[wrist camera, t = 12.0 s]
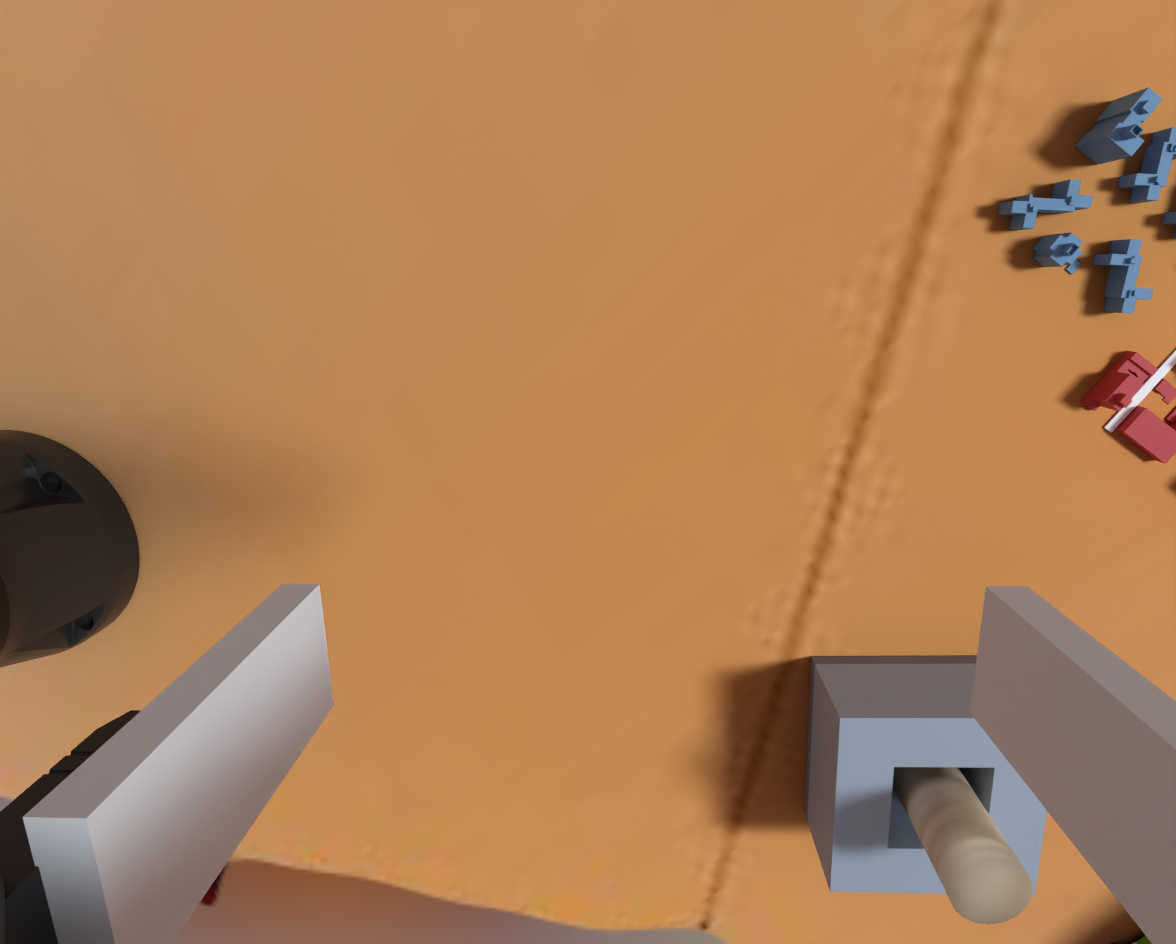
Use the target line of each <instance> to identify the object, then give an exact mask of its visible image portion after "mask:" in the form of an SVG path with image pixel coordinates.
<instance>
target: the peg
mask: <svg viewBox="0 0 1176 944" xmlns="http://www.w3.org/2000/svg"><path fill="white" fill-rule="evenodd" d="M893 787H894V789H895V791H896V793H897V795H898V797H899V799H900V801H901V803H902V805H903V807H904V809H905V811H906V813H907V815H908V817H909V819H910V821H911V823H912V825H913V827H914V829H915V831H916V833H917V835H918V837H919V839H920V841H921V843H922V845H923V847H924V849H925V851H926V853H927V855H928V857H929V859H930V861H931V863H932V865H933V867H934V869H935V871H936V873H937V875H938V877H939V879H940V881H941V883H942V885H943V887H944V889H945V891H946V893H947V895H948V897H949V899H950V901H951V903H952V905H953V907H954V908H955V910H956V911H957V912H958V913H959V914H960V915H961V916H963V917H964V918H966V919H968V920H970V921H973V922H976V923H981V924H995V923H1001V922H1004V921H1007V920H1010V919H1012V918H1014V917H1015V916H1017V915H1018V914H1020V913H1021V912H1022V911H1023V910H1024V909H1025V908H1026V906H1027V905H1028V903H1029V902H1030V900H1031V897H1032V892H1033V886H1032V881H1031V879H1030V877H1029V875H1028V874H1027V872H1026V870H1025V869H1024V867H1023V866H1022V864H1021V863H1020V861H1019V860H1018V858H1017V857H1016V855H1015V854H1014V852H1013V851H1012V849H1011V847H1010V846H1009V844H1008V843H1007V841H1006V840H1005V838H1004V837H1003V835H1002V834H1001V832H1000V831H999V829H998V828H997V826H996V824H995V823H994V821H993V820H992V818H991V817H990V815H989V814H988V812H987V811H986V809H985V808H984V806H983V805H982V803H981V802H980V800H979V798H978V797H977V795H976V794H975V792H974V791H973V789H972V788H971V786H970V785H969V783H968V782H967V780H966V779H965V777H964V775H963V774H962V772H961V771H960V769H959V768H958V767H894V774H893Z"/></svg>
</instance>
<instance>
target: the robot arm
mask: <svg viewBox="0 0 1176 944" xmlns="http://www.w3.org/2000/svg"><path fill="white" fill-rule="evenodd" d="M138 573H139V546H138V540H137V536H136V532H135V528H134V525H133V522H132V520H131V517H130V515H129V513H128V511H127V508H126V506H125V505H124V503H123V501H122V499H121V498H120V496H119V495H118V493H117V492H116V490H115V489H114V488H113V486H112V485H111V484H110V483H109V481H108V480H107V479H106V478H105V477H104V476H103V475H102V474H101V473H100V472H99V471H98V470H97V469H96V468H95V467H94V466H93V465H92V464H91V463H89V462H88V461H87V460H86V459H85V458H83V457H82V456H80V455H79V454H78V453H76V452H74V451H73V450H71V449H70V448H68V447H66V446H64V445H62V444H60V443H58V442H56V441H54V440H51V439H48V438H46V437H43V436H39V435H36V434H32V433H27V432H21V431H11V430H1V431H0V667H4V666H8V665H12V664H16V663H20V662H24V661H29V660H33V659H37V658H41V657H45V656H49V655H53V654H57V653H60V652H63V651H66V650H68V649H70V648H73V647H75V646H77V645H79V644H81V643H82V642H84V641H86V640H87V639H89V638H90V637H92V636H93V635H95V634H96V633H98V632H99V631H101V630H102V629H104V628H105V627H107V626H108V625H109V624H111V623H112V622H113V621H114V620H115V619H116V618H117V617H118V616H119V615H120V614H121V613H122V611H123V610H124V609H125V607H126V606H127V604H128V602H129V601H130V599H131V597H132V594H133V592H134V589H135V586H136V583H137V579H138ZM333 706H334V701H333V693H332V685H331V676H330V668H329V660H328V652H327V643H326V635H325V627H324V619H323V610H322V602H321V594H320V586H319V584H282V585H281V586H280V587H279V588H277V589H276V590H275V591H274V592H273V593H272V594H271V595H270V596H269V597H267V598H266V599H265V600H264V601H263V602H262V603H261V604H260V605H258V606H257V607H256V608H255V609H254V610H253V611H252V612H251V613H250V614H248V615H247V616H246V617H245V618H244V619H243V620H242V621H241V622H240V623H238V624H237V625H236V626H235V627H234V628H233V629H232V630H231V631H229V632H228V633H227V634H226V635H225V636H224V637H223V638H222V639H221V640H219V641H218V642H217V643H216V644H215V645H214V646H213V647H212V648H211V649H209V650H208V651H207V652H206V653H205V654H204V655H203V656H202V657H201V658H199V659H198V660H197V661H196V662H195V663H194V664H193V665H192V666H190V667H189V668H188V669H187V670H186V671H185V672H184V673H183V674H182V675H180V676H179V677H178V678H177V679H176V680H175V681H174V682H173V683H172V684H170V685H169V686H168V687H167V688H166V689H165V690H164V691H163V692H161V693H160V694H159V695H158V696H157V697H156V698H155V699H154V700H153V701H151V702H150V703H149V704H148V705H147V706H146V707H145V708H144V709H143V710H141V711H138V710H131V711H129V712H127V713H126V714H124V715H122V716H120V717H118V718H116V719H115V720H113V721H111V722H109V723H107V724H105V725H104V726H102V727H100V728H98V729H96V730H95V731H94V732H93V733H92V734H91V735H89V736H88V737H87V738H86V739H85V740H84V741H82V742H81V743H80V744H79V745H78V746H77V747H75V748H74V749H73V750H72V751H71V755H70V756H65V757H64V758H63V759H61V760H60V761H59V762H58V763H57V764H56V765H54V766H53V767H52V768H51V769H50V772H49V774H44V775H43V776H42V777H40V778H39V779H38V780H37V781H36V782H35V783H33V784H32V785H31V786H30V787H29V788H28V789H26V790H25V791H24V792H23V793H22V794H21V795H19V796H18V797H17V798H16V799H15V800H14V801H13V802H11V803H10V804H9V805H8V806H7V807H5V808H4V809H3V810H2V811H1V812H0V944H172V942H173V941H174V939H175V937H176V936H177V935H178V933H179V932H180V930H181V929H182V927H183V926H184V924H185V923H186V922H187V920H188V919H189V917H190V915H191V914H192V913H193V911H194V910H195V908H196V907H197V905H198V904H199V902H200V901H201V900H202V898H203V897H204V895H205V894H206V892H207V891H208V889H209V888H210V886H211V885H212V883H213V882H214V880H215V879H216V878H217V876H218V875H219V873H220V872H221V870H222V869H223V867H224V866H225V864H226V863H227V861H228V860H229V858H230V857H231V855H232V854H233V853H234V851H235V850H236V848H237V847H238V845H239V844H240V842H241V841H242V839H243V838H244V836H245V835H246V833H247V832H248V830H249V829H250V828H251V826H252V825H253V823H254V822H255V820H256V819H257V817H258V816H259V814H260V813H261V811H262V810H263V808H264V807H265V806H266V804H267V803H268V801H269V800H270V798H271V797H272V795H273V794H274V792H275V791H276V789H277V788H278V786H279V785H280V783H281V782H282V781H283V779H284V778H285V776H286V775H287V773H288V772H289V770H290V769H291V767H292V766H293V764H294V763H295V761H296V760H297V758H298V757H299V756H300V754H301V753H302V751H303V750H304V748H305V747H306V745H307V744H308V742H309V741H310V739H311V738H312V736H313V735H314V734H315V732H316V731H317V729H318V728H319V726H320V725H321V723H322V722H323V720H324V719H325V717H326V716H327V714H328V713H329V711H330V710H331V709H332V707H333ZM970 713H971V715H972V716H973V717H974V719H975V720H976V721H977V722H978V724H979V725H980V726H981V727H982V729H983V730H984V731H985V733H986V734H987V735H988V736H989V738H990V739H991V740H992V741H993V743H994V744H995V745H996V746H997V748H998V749H999V750H1000V752H1001V753H1002V754H1003V755H1004V757H1005V758H1006V759H1007V760H1008V762H1009V763H1010V764H1011V765H1012V767H1013V768H1014V769H1015V771H1016V772H1017V773H1018V774H1019V776H1020V777H1021V778H1022V779H1023V781H1024V782H1025V783H1026V784H1027V786H1028V787H1029V788H1030V790H1031V791H1032V792H1033V793H1034V795H1035V796H1036V797H1037V798H1038V800H1039V801H1040V802H1041V804H1042V805H1043V806H1044V807H1045V809H1046V810H1047V811H1048V812H1049V814H1050V815H1051V816H1052V817H1053V819H1054V820H1055V821H1056V823H1057V824H1058V825H1059V826H1060V828H1061V829H1062V830H1063V831H1064V833H1065V834H1066V835H1067V836H1068V838H1069V839H1070V840H1071V842H1072V843H1073V844H1074V845H1075V847H1076V848H1077V849H1078V850H1079V852H1080V853H1081V854H1082V855H1083V857H1084V858H1085V859H1086V861H1087V862H1088V863H1089V864H1090V866H1091V867H1092V868H1093V869H1094V871H1095V872H1096V873H1097V875H1098V876H1099V877H1100V878H1101V880H1102V881H1103V882H1104V883H1105V885H1106V886H1107V887H1108V888H1109V890H1110V891H1111V892H1112V894H1113V895H1114V896H1115V897H1116V899H1117V900H1118V901H1119V902H1120V904H1121V905H1122V906H1123V907H1124V909H1125V910H1126V911H1127V913H1128V914H1129V915H1130V916H1131V918H1132V919H1133V920H1134V921H1135V923H1136V924H1137V925H1138V926H1139V928H1140V929H1141V930H1142V932H1143V933H1144V934H1145V935H1146V937H1147V938H1148V939H1149V940H1150V942H1151V943H1152V944H1176V701H1175V700H1173V699H1172V698H1171V697H1170V696H1168V695H1167V694H1166V693H1164V692H1163V691H1162V690H1161V689H1159V688H1158V687H1157V686H1155V685H1154V684H1153V683H1151V682H1150V681H1149V680H1148V679H1146V678H1145V677H1144V676H1142V675H1141V674H1140V673H1139V672H1137V671H1136V670H1135V669H1133V668H1132V667H1131V666H1129V665H1128V664H1127V663H1126V662H1124V661H1123V660H1122V659H1120V658H1119V657H1118V656H1117V655H1115V654H1114V653H1113V652H1111V651H1110V650H1109V649H1107V648H1106V647H1105V646H1104V645H1102V644H1101V643H1100V642H1098V641H1097V640H1096V639H1095V638H1093V637H1092V636H1091V635H1089V634H1088V633H1087V632H1085V631H1084V630H1083V629H1082V628H1080V627H1079V626H1078V625H1076V624H1075V623H1074V622H1073V621H1071V620H1070V619H1069V618H1067V617H1066V616H1065V615H1063V614H1062V613H1061V612H1060V611H1058V610H1057V609H1056V608H1054V607H1053V606H1052V605H1051V604H1049V603H1048V602H1047V601H1045V600H1044V599H1043V598H1041V597H1040V596H1039V595H1038V594H1036V593H1035V592H1034V591H1032V590H1031V589H1030V588H1028V587H1027V586H986V592H985V599H984V607H983V615H982V622H981V630H980V638H979V645H978V653H977V660H976V668H975V676H974V683H973V691H972V699H971V706H970Z"/></svg>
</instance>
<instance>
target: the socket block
mask: <svg viewBox="0 0 1176 944" xmlns="http://www.w3.org/2000/svg"><path fill="white" fill-rule="evenodd" d="M976 660H977V656H811V669H810V692H809V714H808V737H807V759H806V782H805V804H804V812H805V815H806V818H807V821H808V824H809V827H810V831H811V834H812V837H813V840H814V843H815V846H816V849H817V852H818V855H819V858H820V862H821V865H822V868H823V871H824V874H825V877H826V880H827V883H828V886H829V890H830V892H880V893H941V894H947V893H946V891H945V889H944V887H943V885H942V883H941V881H940V879H939V877H938V875H937V873H936V871H935V869H934V867H933V865H932V863H931V861H930V859H929V857H928V855H927V853H926V851H925V849H924V847H923V845H922V843H921V841H920V839H919V837H918V835H917V833H916V831H915V829H914V827H913V825H912V823H911V821H910V819H909V817H908V815H907V813H906V811H905V809H904V807H903V805H902V803H901V801H900V799H899V797H898V795H897V793H896V791H895V789H894V787H893V774H894V767H958V768H959V769H960V771H961V772H962V774H963V775H964V777H965V779H966V780H967V782H968V783H969V785H970V786H971V788H972V789H973V791H974V792H975V794H976V795H977V797H978V798H979V800H980V802H981V803H982V805H983V806H984V808H985V809H986V811H987V812H988V814H989V815H990V817H991V818H992V820H993V821H994V823H995V824H996V826H997V828H998V829H999V831H1000V832H1001V834H1002V835H1003V837H1004V838H1005V840H1006V841H1007V843H1008V844H1009V846H1010V847H1011V849H1012V851H1013V852H1014V854H1015V855H1016V857H1017V858H1018V860H1019V861H1020V863H1021V864H1022V866H1023V867H1024V869H1025V870H1026V872H1027V874H1028V875H1029V877H1030V879H1031V881H1032V886H1033V892H1032V895H1035V890H1036V883H1037V876H1038V869H1039V862H1040V855H1041V848H1042V841H1043V834H1044V827H1045V821H1046V814H1047V810H1046V809H1045V807H1044V806H1043V805H1042V804H1041V802H1040V801H1039V800H1038V798H1037V797H1036V796H1035V795H1034V793H1033V792H1032V791H1031V790H1030V788H1029V787H1028V786H1027V784H1026V783H1025V782H1024V781H1023V779H1022V778H1021V777H1020V776H1019V774H1018V773H1017V772H1016V771H1015V769H1014V768H1013V767H1012V765H1011V764H1010V763H1009V762H1008V760H1007V759H1006V758H1005V757H1004V755H1003V754H1002V753H1001V752H1000V750H999V749H998V748H997V746H996V745H995V744H994V743H993V741H992V740H991V739H990V738H989V736H988V735H987V734H986V733H985V731H984V730H983V729H982V727H981V726H980V725H979V724H978V722H977V721H976V720H975V719H974V717H973V716H972V715H971V713H970V706H971V699H972V691H973V683H974V676H975V668H976Z"/></svg>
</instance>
